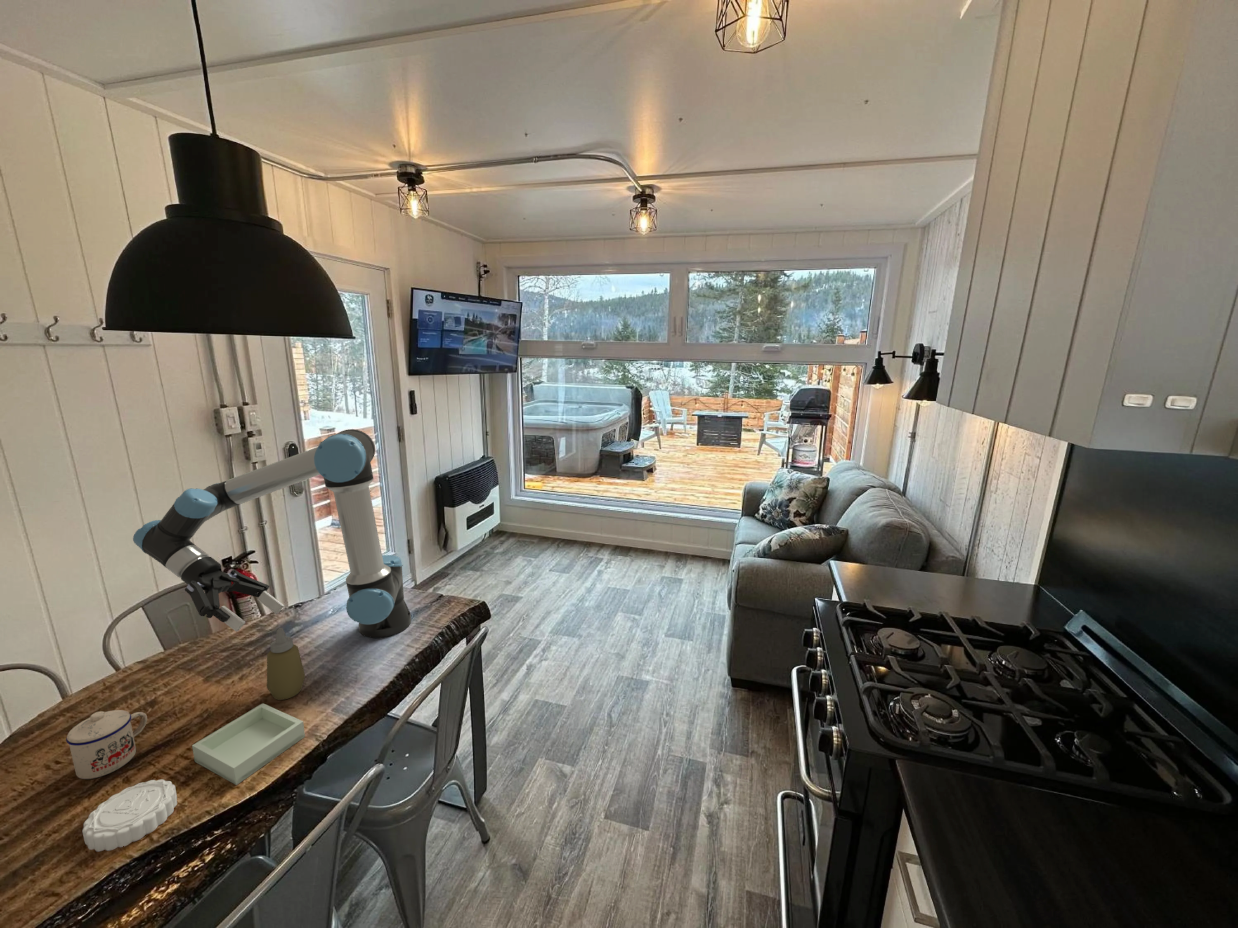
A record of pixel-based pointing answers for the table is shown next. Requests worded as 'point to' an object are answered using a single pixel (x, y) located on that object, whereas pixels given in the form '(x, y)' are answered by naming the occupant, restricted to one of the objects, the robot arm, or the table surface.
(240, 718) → the tray
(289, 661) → the squeeze bottle
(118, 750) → the teacup with lid
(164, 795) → the mooncake
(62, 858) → the table surface
